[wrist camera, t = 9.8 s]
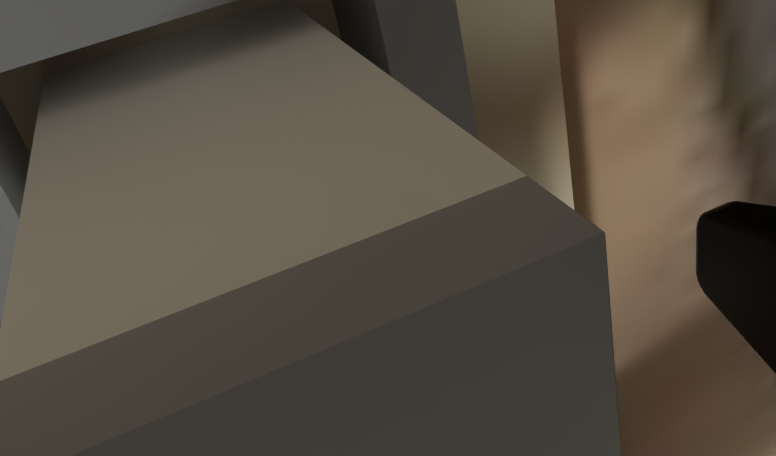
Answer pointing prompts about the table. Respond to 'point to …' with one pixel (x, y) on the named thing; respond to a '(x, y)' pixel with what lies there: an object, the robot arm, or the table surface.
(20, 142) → the back box
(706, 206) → the table surface
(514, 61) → the board
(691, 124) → the table surface
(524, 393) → the grey block
